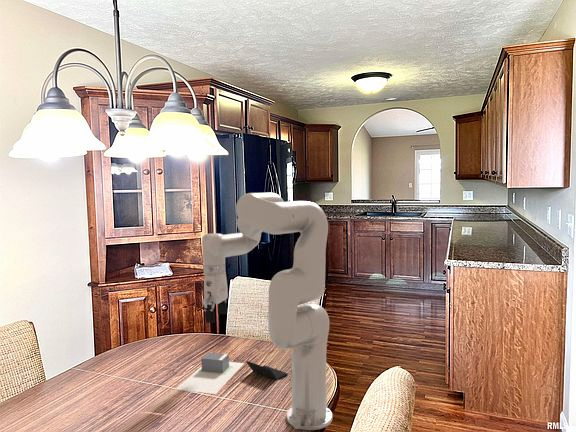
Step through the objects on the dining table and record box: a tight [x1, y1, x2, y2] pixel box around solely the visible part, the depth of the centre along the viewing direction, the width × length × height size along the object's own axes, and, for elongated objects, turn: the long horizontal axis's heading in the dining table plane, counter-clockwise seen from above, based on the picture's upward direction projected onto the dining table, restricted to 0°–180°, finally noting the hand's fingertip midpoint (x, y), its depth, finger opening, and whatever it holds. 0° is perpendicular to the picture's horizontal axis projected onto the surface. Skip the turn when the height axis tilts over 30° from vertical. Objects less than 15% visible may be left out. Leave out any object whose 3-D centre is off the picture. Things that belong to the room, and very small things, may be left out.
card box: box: [200, 352, 230, 373], centre depth 151 cm, size 8×6×4 cm
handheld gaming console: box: [245, 360, 288, 381], centre depth 146 cm, size 12×7×10 cm
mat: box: [175, 361, 245, 395], centre depth 147 cm, size 24×14×1 cm, turn 164°
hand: (216, 318), depth 150 cm, fingers open, 9 cm apart
